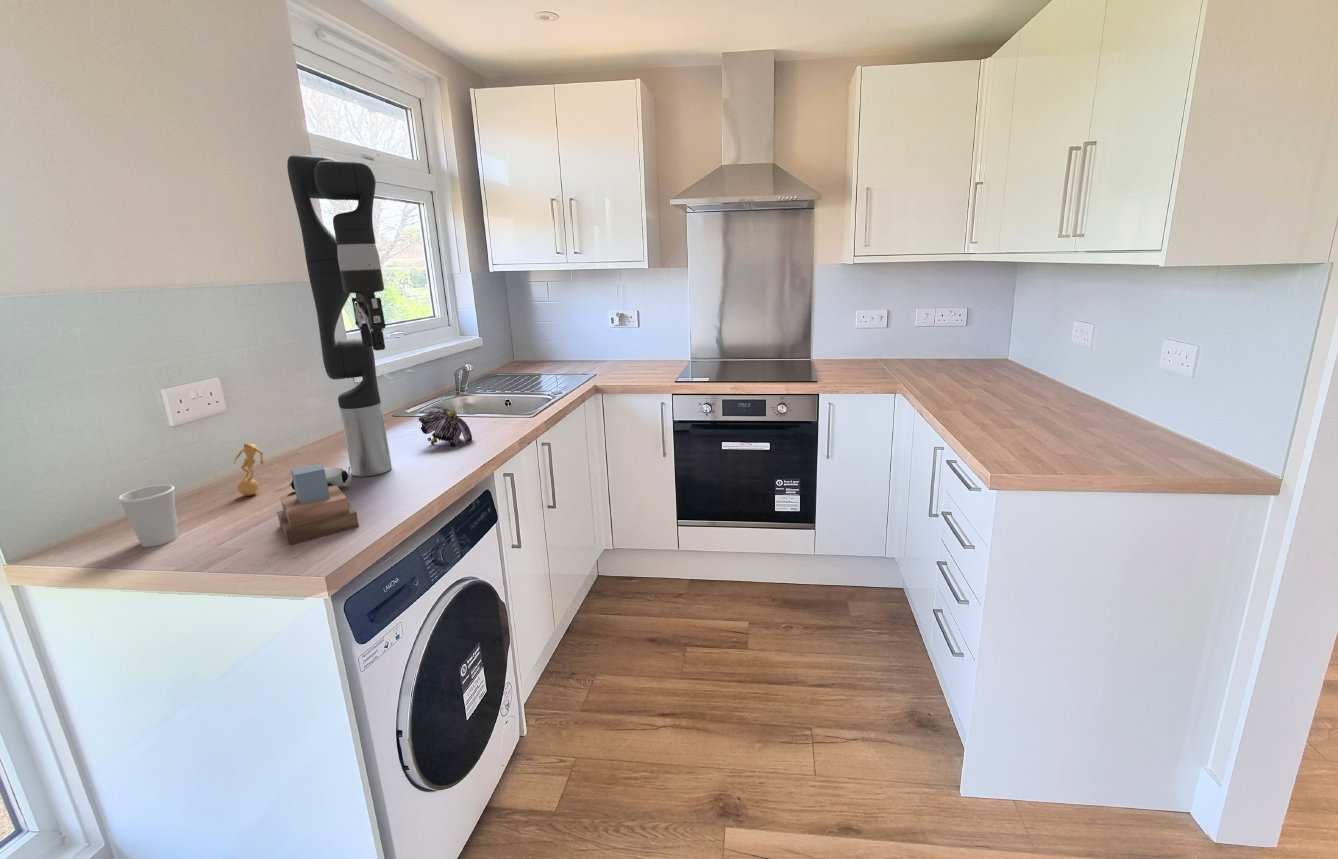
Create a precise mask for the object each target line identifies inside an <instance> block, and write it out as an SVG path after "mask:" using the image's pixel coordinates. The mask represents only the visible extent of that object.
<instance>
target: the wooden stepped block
mask: <svg viewBox="0 0 1338 859" xmlns="http://www.w3.org/2000/svg"><path fill="white" fill-rule="evenodd" d="M328 490H329V495H330V498H328V499H323V500H319V501H315V502H311V503H307V504H302V505H301V504H300V502H299V501H298V499H297V497H296V494H295V495H291V496H287V495H286V496H284V497H280V501H281V507H282V510H279V511H277V513H276V514H277V518H278V522H279V526H280V529H281V530H282V533H283V535H284V537H285V539H286V541H287V544H288V546H291V545H294V544H298V543H302V542H306V541H309V540H314V539H317V538H320V537H323V536H329V535H332V534H335V533H336V534H337V533H339V532H340V533H341V532H343V531H348V530H351V529H354V528H358V527H359V526H360V524H359V519H358V514H357V511H356V510H355V509H354V507H353V506H351V504H350V503H349V502H348V498H347V496H346V495H345V494H344V493H343V491H342V490H341V489H340V487H337V486H336V485H335V486H331V487H328Z"/></svg>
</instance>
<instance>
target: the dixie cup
mask: <svg viewBox="0 0 1338 859" xmlns="http://www.w3.org/2000/svg"><path fill="white" fill-rule="evenodd" d="M174 492H175V486H174V485H171V484H155V485H154V484H153V485H150V486H149V485H148V486H144V487H140V488H136V489H133V490H129V491H127V492H124V493H122V494H121V495H119V496H118V497H117V501H118V502H120V504H121V506H122V509H123V510H124V512H125V514H126V517H127V519H128V520H129V523H130V525H131V527H132V529H133V532H134V533H135V535H136V538H137V540H138V541H139V543H140V545H141V547H143V548H149V547H157V546H158V547H159V546H161V545H165V544H168V543H171V542H173V541H175V540H176V539H178V538H179V529H178V520H177V512H176V503H175V502H176V500H175V493H174Z"/></svg>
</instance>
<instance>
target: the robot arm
mask: <svg viewBox="0 0 1338 859" xmlns="http://www.w3.org/2000/svg"><path fill="white" fill-rule="evenodd" d="M286 164H287V165H286V166H287V167H286V168H287V174H288V180H289V185H290V188H291V193H292V196H293V201H294V204H295V208H296V214H297V216H298V221H299V224H300V225H299V227H300V230H301V235H302V236H301V237H302V241H303V247H304V248H303V249H304V255H305V261H306V266H307V272H308V278H309V282H310V286H311V292H312V295H313V301H314V306H315V310H316V315H317V322H318V329H319V330H318V331H319V339H320V344H321V345H320V347H321V353H322V362H323V366H324V370H325V372H326V374H327V376H328V378H330V379H331V380H343V379H345V380H346V379H353V378H362V380H361V381H360V382H359V384H357V385H356V386H355V387H353V388H351V389H348V390H347V391H344V392H342V393H341V394H339V396H337V401H338V407H339V413H340V417H341V423H342V427H343V432H344V439H345V445H346V448H347V449H346V450H347V454H348V460H349V466H350V470H351V475H352V476H354V477H370V476H377V475H381V474H384V473H387V472H389V471H391V469H392V468H393V467H392V460H391V456H390V454H391V453H390V448H389V443H388V437H387V430H386V429H387V428H386V426H385V420H384V413H383V407H382V402H381V396H380V392H379V386H378V379H377V370H376V369H377V368H376V361H375V360H376V359H375V354H374V351H384V350H385V349H386V345H385V338H384V329H386V322H385V315H384V310H383V305H382V299H381V298H380V297H376V295H375V293H377V292H383V291H384V290H385V285H384V278H383V273H382V267H381V266H382V265H381V260H380V254H379V252H378V248H377V244H376V243H377V242H376V238H375V231H374V224H373V210H374V209H373V208H374V200H375V194H376V184H377V183H376V181H377V180H376V177H375V174H374V172H373V170H372V169H371V167H370V166H369V165H367V164H366V163H364V162H361V161H342V160H341V161H340V160H336V159H334V158H332V157H329V156H317V155H304V154H291V155H290V156H288V159H287V163H286ZM311 199H313V200H315V199H316V200H320V199H321V200H331V201H332V200H333V201H357V206H356V208H355V209H354V210H352V211H346V212H341V213H337V214H335V215H334V216H333V218H332V223H333V224H332V226H333V230H334V234H333V232H332V231H331V230H330V229H328V227H327V226H326V225H325V224H324V222H323V221H322V219H321V218H320V216H319V214H318V213H317V211H316V209H315V208H314V205H313V202H312V200H311ZM351 294H355V297H351V302H352V307H353V313H354V314H353V315H354V320H355V322H354V323H355V325H356V326H357V328H358V330H359V331H360V336H361V338H360V337H359V338H358V337H357V338H349V339H348V338H347V339H346V338H345V339H336V338H335V336H336V335H335V334H336V327H337V325H338V321H339V318H340V316H341V313H342V311H343V309H344V306H345V305H346V303H347V301H348V300H349V297H350V295H351Z"/></svg>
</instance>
